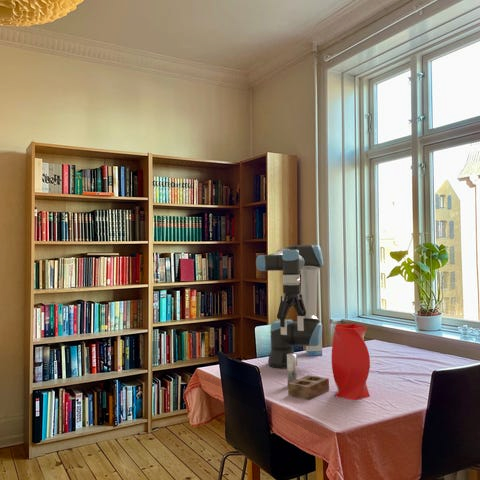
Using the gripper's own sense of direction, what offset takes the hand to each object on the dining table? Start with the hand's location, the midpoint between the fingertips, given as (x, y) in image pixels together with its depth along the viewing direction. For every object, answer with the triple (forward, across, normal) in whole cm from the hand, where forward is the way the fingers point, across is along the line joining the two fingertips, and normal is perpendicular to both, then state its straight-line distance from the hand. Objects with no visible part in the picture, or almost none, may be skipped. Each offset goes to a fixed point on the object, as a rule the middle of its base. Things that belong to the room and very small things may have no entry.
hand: (292, 332), depth 204 cm
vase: (+24, +4, -25) cm, 35 cm away
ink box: (+23, +62, +26) cm, 71 cm away
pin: (+23, 0, 0) cm, 23 cm away
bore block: (+24, -5, -10) cm, 26 cm away
